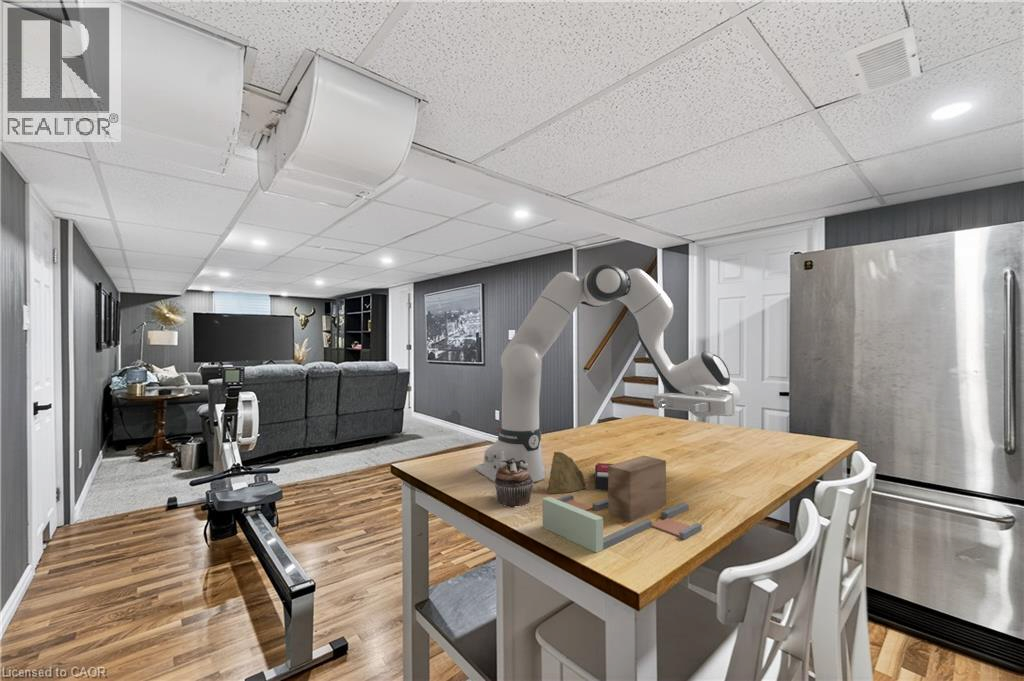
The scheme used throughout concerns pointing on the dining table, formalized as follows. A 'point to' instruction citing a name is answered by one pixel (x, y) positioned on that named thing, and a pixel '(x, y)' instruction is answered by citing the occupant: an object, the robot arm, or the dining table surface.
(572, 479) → the rock
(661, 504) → the walnut block
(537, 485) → the dining table surface
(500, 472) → the cupcake
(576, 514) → the green panel rail frame
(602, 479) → the calculator
